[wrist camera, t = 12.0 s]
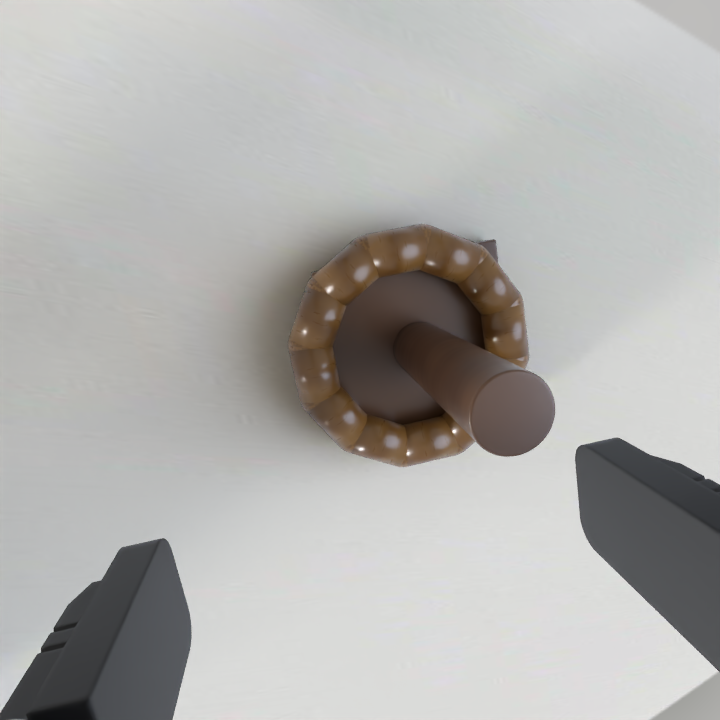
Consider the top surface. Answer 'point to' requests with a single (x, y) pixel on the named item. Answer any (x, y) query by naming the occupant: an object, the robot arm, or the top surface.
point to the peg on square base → (437, 363)
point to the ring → (347, 282)
